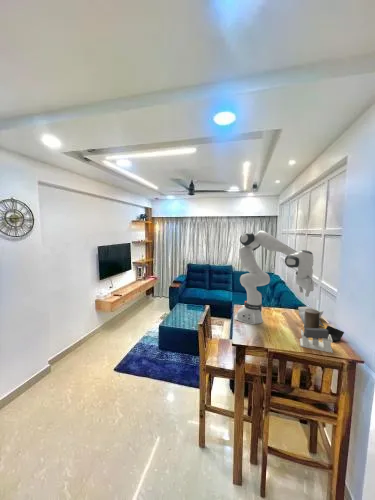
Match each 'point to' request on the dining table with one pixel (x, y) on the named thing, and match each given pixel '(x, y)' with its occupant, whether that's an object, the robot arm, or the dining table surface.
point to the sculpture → (302, 313)
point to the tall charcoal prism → (315, 333)
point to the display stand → (316, 343)
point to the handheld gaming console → (334, 333)
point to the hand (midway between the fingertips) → (303, 294)
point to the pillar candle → (311, 318)
